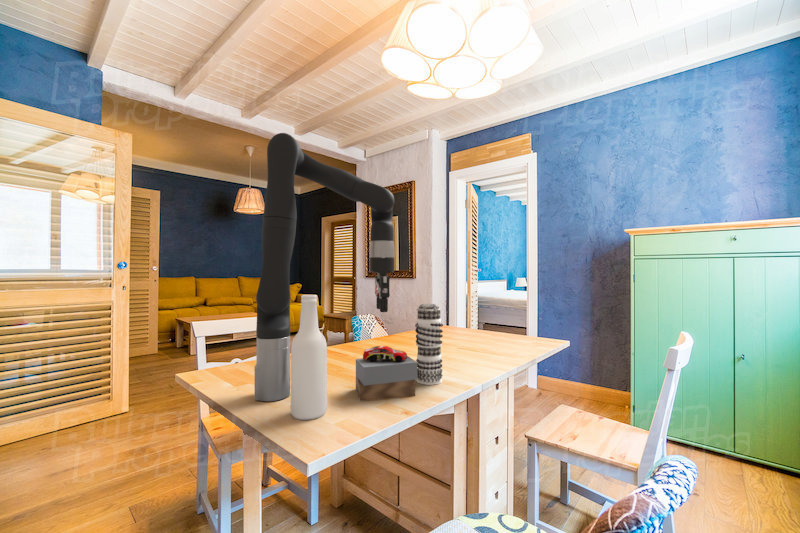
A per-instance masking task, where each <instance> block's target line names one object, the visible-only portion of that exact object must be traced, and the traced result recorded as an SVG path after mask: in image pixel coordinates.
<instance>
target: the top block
mask: <svg viewBox="0 0 800 533" xmlns="http://www.w3.org/2000/svg"><path fill="white" fill-rule="evenodd" d="M417 368H418V367H417V361H416V360H414V359H412V358H411V357H410V356H408V355H407V359H406V360H402V361H401V362H396V360H395V361H376V360H375V361H374V362H371V361H370V360H365V359H363V357H362V358H355V378H356V377H357V378H358V379H359V380H360V382H361V383H362V384H363V385H364V386H366V385H374V384H383V383H392V382H401V381H409V380H415V381H417Z"/></svg>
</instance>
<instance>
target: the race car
mask: <svg viewBox="0 0 800 533" xmlns="http://www.w3.org/2000/svg"><path fill="white" fill-rule="evenodd" d="M407 356H408V353H407V352H406V351H403V350H400V349H398V350H397V349H394V348H392V347H389V346H387V345H376V346H372V347H369V348H365V349H364V351H363V354H362V358H363V359H365V360H370V361H371V362H374V361H375V360H376V361H395V360H396V362H401V361H402V360H406V359H407Z"/></svg>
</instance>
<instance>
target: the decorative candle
mask: <svg viewBox="0 0 800 533" xmlns="http://www.w3.org/2000/svg"><path fill="white" fill-rule="evenodd" d="M441 310H442V308H441V307H440V306H439V305H438V304H436V303H422V304H420V305H419V307H418V308H416V311H417V318H416V323H415V326H414V327H415V330H414V332H415V333H416V334H415V338H416V340H415V343H416V346H417V354H416V360H415V361H416V362H417V380H416V382H417V383H418V384H421V385H424V386H426V385H427V386H432V385H434V384H435V385H439V384H442V383H443V379H442V378H443V369H442V368H443V364H442V363H443V359H442V353H441V350H442V349H441V347H442V346H443V340H441V338H442V337H443V334H442V333H443V332H444V331H443V330H442V329H441V328H442V327H443V326H444V324H443V323H442V318H441Z"/></svg>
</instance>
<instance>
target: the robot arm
mask: <svg viewBox="0 0 800 533" xmlns="http://www.w3.org/2000/svg"><path fill="white" fill-rule="evenodd" d="M266 157H267V159H266V160H267V182H266V183H267V184H266V190H265V197H264V198H265V199H264V206H263V207H264V208H263V214H262V215H263V216H262V224H261V225H262V226H261V250H262V252H261V253H262V265H261V272H260V278H259V279H260V280H259V284H258V288H257V291H256V296H255V301H256V361H255V362H256V364H255V365H254V401H261V402H274V401H280V400H284V399H286V398H288V397H289V396H291V312H290V311H291V286H290V285H291V284H290V283H291V282H290V276H291V275H290V268H291V260H292V257H293V256H292V255H293V251H294V246H295V241H296V240H295V239H296V233H297V232H296V231H297V222H298V221H297V220H298V219H297V218H298V214H297V213H298V212H297V204H296V203H297V200H296V194H295V177H296V176H298V177H300V178H304V179H306V180H308V181H309V180H310V181H311V182H314V183H317V184H318V185H321V186H323V187H325V188H327V189H329V190H330V191H333V192H334V193H337V194H338V195H340V196H342V197H345V198H346V199H348V200H351V201H353V202H355V203H358V202H359V203H362V204H363V205H366V206H368V207H370V220H371V225H370V244H369V272H370V273H376V274H377V275H375V276H374V294H375V297H376V305H375V306H376V309H377V310H379V311H380V313H387V312H388V307H389V303H388V302H389V301H388V300H389V299H390V296H391V294H390V276H388V273H394V272H395V243H394V241H395V240H394V239H395V234H394V232H395V231H394V229H395V228H394V225H393V220H394V218H393V217H394V216H393V215H394V214H393V213H394V212H393V211H394V205H395V196H394V194H393V193H392V192H391V191H390V189H387V188H386V187H383V186H381V185H379V184H375V183H373V182H370V181H367V180H365V179H362V178H361V177H359V176H356V175H355V174H352V173H351V172H349V171H347V170H344V169H341V168H338V167H335V166H332V165H328V164H325V163H323V162H321V161H318V160H316V159H314V158H313V157H311V156H310V155H309V154H308V153H305V152H304V151H303V150H302V148H301V146H300V144H299V142H298V141H297V140H296V138H295V137H293V136H292V135H291V134H289V133H286V132H280V133H276V134H274V135H273V136H272V137H271V139H270V140H269V141H268V144H267V149H266Z"/></svg>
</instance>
